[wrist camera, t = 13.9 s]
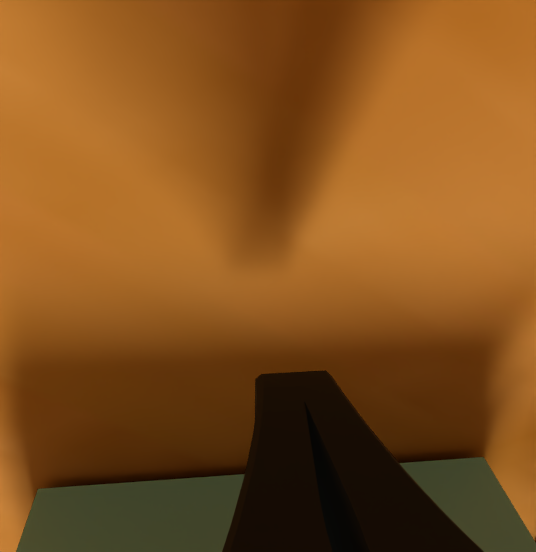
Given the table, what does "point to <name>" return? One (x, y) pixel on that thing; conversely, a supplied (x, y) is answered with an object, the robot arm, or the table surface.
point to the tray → (221, 506)
